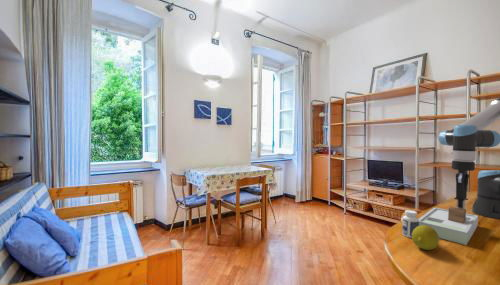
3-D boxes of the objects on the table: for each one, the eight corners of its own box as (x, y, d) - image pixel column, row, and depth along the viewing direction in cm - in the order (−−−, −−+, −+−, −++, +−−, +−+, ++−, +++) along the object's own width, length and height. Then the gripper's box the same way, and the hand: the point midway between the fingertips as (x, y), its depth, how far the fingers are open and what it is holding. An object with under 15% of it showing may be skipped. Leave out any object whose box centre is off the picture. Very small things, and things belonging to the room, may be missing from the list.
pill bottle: (419, 235, 98) (420, 211, 97) (416, 239, 94) (418, 214, 93) (403, 231, 101) (404, 208, 101) (400, 235, 97) (401, 211, 97)
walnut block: (450, 217, 108) (451, 206, 108) (465, 220, 104) (466, 209, 104) (448, 220, 105) (448, 208, 104) (463, 223, 101) (464, 211, 101)
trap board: (433, 216, 121) (434, 207, 121) (477, 225, 109) (478, 215, 109) (415, 231, 102) (416, 220, 102) (466, 245, 90) (466, 232, 90)
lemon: (431, 256, 81) (432, 233, 80) (405, 247, 87) (406, 225, 87) (444, 248, 87) (445, 226, 86) (419, 240, 93) (420, 219, 93)
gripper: (455, 159, 112) (452, 209, 113) (448, 160, 104) (446, 215, 104) (477, 160, 106) (474, 213, 107) (472, 162, 98) (469, 220, 99)
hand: (460, 214), depth 106 cm, fingers closed
